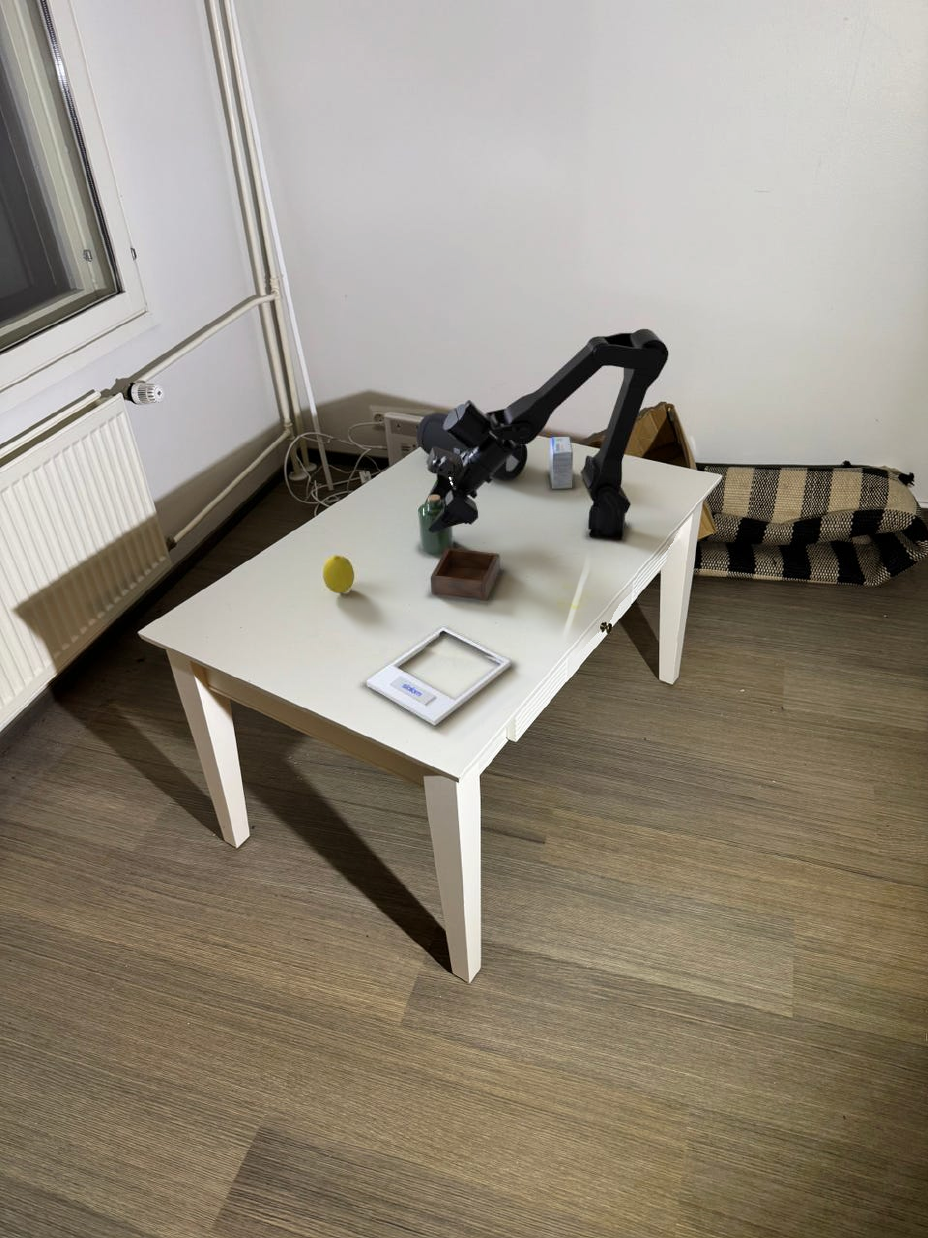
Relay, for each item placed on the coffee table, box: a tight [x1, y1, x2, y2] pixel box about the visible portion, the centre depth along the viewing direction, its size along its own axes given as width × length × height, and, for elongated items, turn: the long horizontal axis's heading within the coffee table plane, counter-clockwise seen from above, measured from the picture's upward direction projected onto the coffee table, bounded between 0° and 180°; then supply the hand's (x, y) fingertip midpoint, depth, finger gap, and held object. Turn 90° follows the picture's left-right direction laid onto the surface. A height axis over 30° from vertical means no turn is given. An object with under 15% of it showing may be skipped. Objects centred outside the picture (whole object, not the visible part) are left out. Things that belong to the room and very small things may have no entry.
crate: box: [430, 547, 501, 601], centre depth 159 cm, size 10×10×4 cm
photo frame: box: [366, 626, 511, 726], centre depth 139 cm, size 15×1×18 cm
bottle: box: [417, 495, 454, 555], centre depth 168 cm, size 6×6×11 cm
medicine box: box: [549, 436, 574, 490], centre depth 189 cm, size 8×4×9 cm, turn 179°
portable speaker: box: [416, 412, 528, 481], centre depth 196 cm, size 26×10×10 cm, turn 50°
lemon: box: [322, 555, 355, 594], centre depth 157 cm, size 6×6×8 cm
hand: (427, 518), depth 167 cm, fingers open, 9 cm apart
